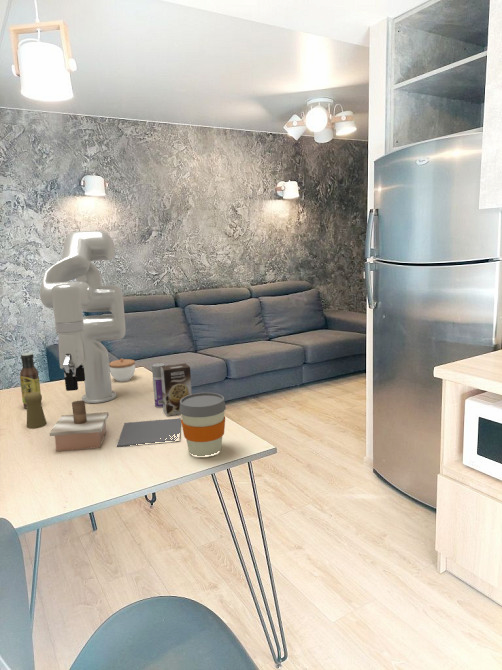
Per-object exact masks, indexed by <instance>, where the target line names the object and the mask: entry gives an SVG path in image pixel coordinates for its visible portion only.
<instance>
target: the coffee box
mask: <svg viewBox="0 0 502 670" xmlns="http://www.w3.org/2000/svg"><path fill="white" fill-rule="evenodd" d="M191 379H192V377H191V366H189V365H188V364H187V363H178V364H171V365H170V364H168V365H165V366H161V380H162V397H163V407H162V410H163V412H164V414H165V415H166V417H172V416H177V415H176V414H178V415H181V413H180V400H181V399H182V398H183V397H185V396H188V395H191V394H193V393H192V380H191ZM171 415H172V416H171Z"/></svg>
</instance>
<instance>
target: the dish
mask: <svg viewBox="0 0 502 670" xmlns="http://www.w3.org/2000/svg"><path fill="white" fill-rule="evenodd" d="M106 433H107V423H106V422H105V424H104V426H103V429H102V431H101V432H95V433H83V434H71V435H59V436H54V441H55V450H56V452H61V451H69V450H70V451H72V450H83V449H84V450H85V449H93V448H94V449H96V448H100V447H101V445H102V443H103V441H104V438H105V436H106Z"/></svg>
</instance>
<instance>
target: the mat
mask: <svg viewBox="0 0 502 670" xmlns="http://www.w3.org/2000/svg"><path fill="white" fill-rule="evenodd" d="M181 420H182V417H181V418H179V417H178V418H168V419H153V420H142V421H132V422H131V421H130V422H124V423H123V426H122V429H121V433H120V436H119V439H118V441H117V444H116V448H121V447H122V448H123V446H125V447H131V446H130V445H136V444H137V445H136V446H139V445H138V444H145V443H155V442H165V441H175V440H176V439H177V438H178V437H177V434H179V433H180V434H181V431H180V427H182V423H181ZM174 434H175V436H176V437H177V438H176V437H175V438H176V439H175V438H174V436H173V435H174ZM169 435H170V436H171V437H172V436H173V437H172V438H173V439H172V438H171V437H170V436H169ZM160 438H161V439H160ZM166 438H167V439H166ZM170 438H171V439H172V440H171V439H170ZM165 439H166V440H165ZM174 439H175V440H174Z"/></svg>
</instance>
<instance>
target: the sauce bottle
mask: <svg viewBox="0 0 502 670" xmlns="http://www.w3.org/2000/svg"><path fill="white" fill-rule="evenodd" d="M20 359H21V366H22V368H21V369H20V372H19V381H20V389H21V399H22V403H23V407H24V408H25V409H27V403H26V402H25V400H24V397H25V395H26V394H28V393H31V392H39V393H40V394H41V385H40V384H41V383H40V377H39V371H38V369H37V367H36V366H35V364H34V353H33V352H25V353H22V354H20ZM41 395H42V394H41ZM41 405H42V402H41Z"/></svg>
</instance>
